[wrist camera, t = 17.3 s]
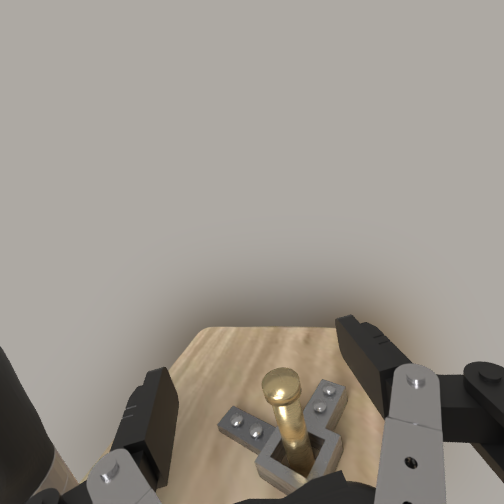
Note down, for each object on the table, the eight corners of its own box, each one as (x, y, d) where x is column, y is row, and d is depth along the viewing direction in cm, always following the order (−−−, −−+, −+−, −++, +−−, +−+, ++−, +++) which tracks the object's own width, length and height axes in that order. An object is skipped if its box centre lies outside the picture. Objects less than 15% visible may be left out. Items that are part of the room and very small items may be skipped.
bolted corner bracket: (210, 443, 45) (203, 426, 44) (267, 371, 56) (263, 357, 55) (316, 515, 33) (311, 495, 32) (361, 406, 45) (359, 388, 43)
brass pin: (279, 471, 38) (254, 389, 34) (295, 442, 42) (274, 363, 37) (310, 489, 35) (286, 402, 31) (324, 456, 39) (305, 373, 34)
